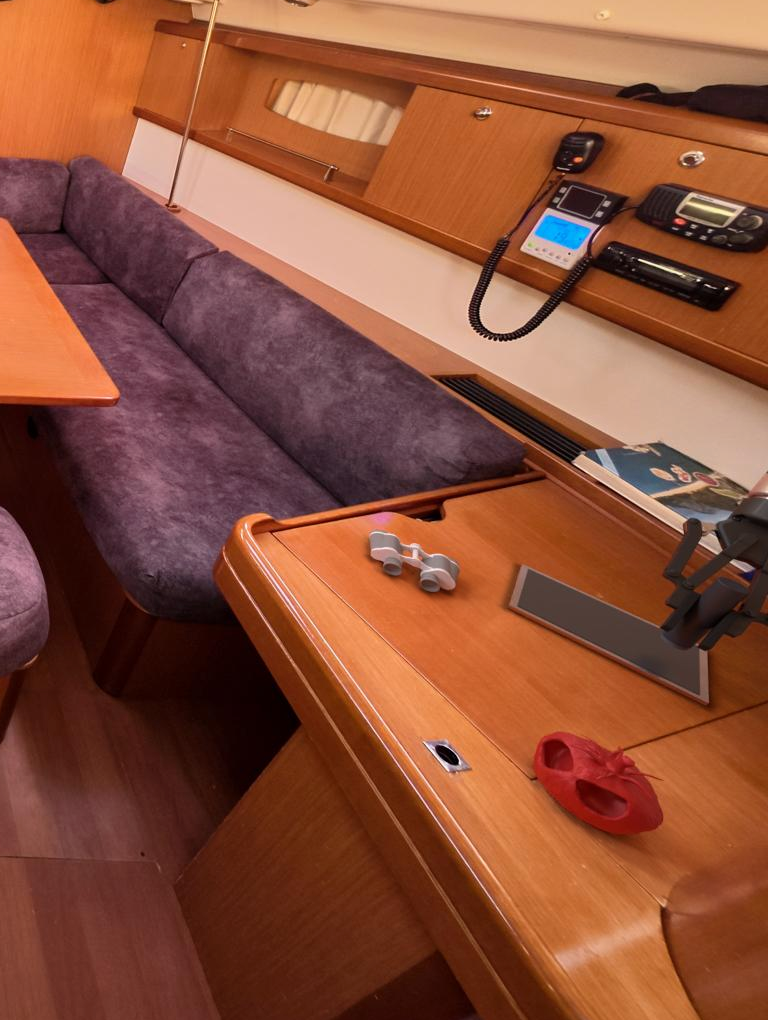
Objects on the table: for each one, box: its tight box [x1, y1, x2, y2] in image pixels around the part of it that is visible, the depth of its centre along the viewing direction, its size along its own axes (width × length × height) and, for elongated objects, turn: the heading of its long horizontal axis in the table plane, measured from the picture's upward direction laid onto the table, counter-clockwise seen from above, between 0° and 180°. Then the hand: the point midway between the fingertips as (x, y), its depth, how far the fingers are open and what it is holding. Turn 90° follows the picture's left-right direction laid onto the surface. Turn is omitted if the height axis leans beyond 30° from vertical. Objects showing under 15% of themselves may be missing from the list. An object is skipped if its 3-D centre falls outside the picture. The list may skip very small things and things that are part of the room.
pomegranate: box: [532, 730, 665, 835], centre depth 74 cm, size 10×10×9 cm
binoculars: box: [368, 529, 461, 593], centre depth 107 cm, size 12×8×4 cm, turn 47°
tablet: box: [507, 563, 710, 707], centre depth 98 cm, size 20×14×1 cm
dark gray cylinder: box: [661, 576, 750, 651], centre depth 90 cm, size 3×3×13 cm
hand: (684, 637), depth 89 cm, fingers closed on dark gray cylinder, 3 cm apart
